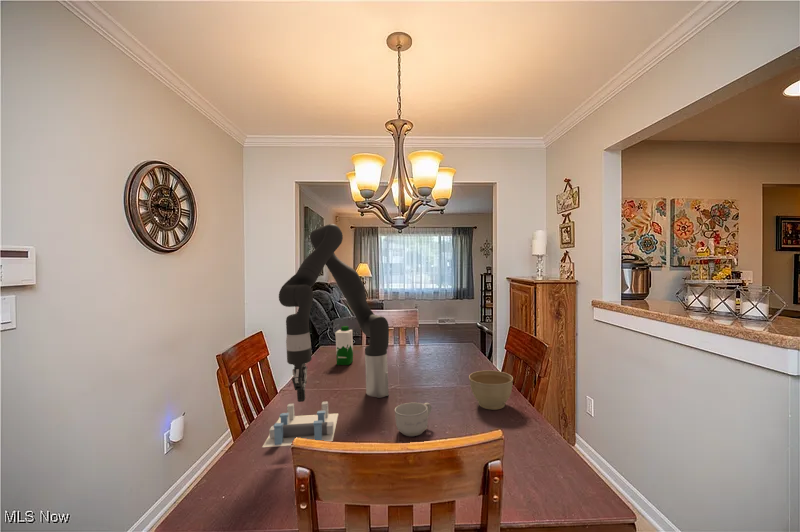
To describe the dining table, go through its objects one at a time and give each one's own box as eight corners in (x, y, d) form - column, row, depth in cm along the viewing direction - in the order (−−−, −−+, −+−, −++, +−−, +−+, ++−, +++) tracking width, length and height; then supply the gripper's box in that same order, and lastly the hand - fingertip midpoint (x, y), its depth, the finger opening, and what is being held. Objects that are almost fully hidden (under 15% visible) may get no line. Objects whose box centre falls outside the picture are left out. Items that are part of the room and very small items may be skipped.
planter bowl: (484, 393, 147) (483, 367, 147) (521, 404, 136) (520, 375, 135) (461, 405, 136) (460, 377, 136) (499, 418, 124) (498, 387, 124)
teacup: (404, 443, 109) (404, 417, 109) (389, 429, 119) (388, 405, 119) (442, 432, 116) (442, 407, 116) (425, 419, 125) (424, 396, 125)
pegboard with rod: (338, 415, 131) (337, 398, 130) (332, 444, 110) (331, 424, 110) (279, 419, 129) (279, 401, 129) (262, 449, 108) (261, 428, 108)
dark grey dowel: (333, 430, 117) (333, 419, 117) (332, 436, 114) (332, 425, 114) (272, 434, 116) (272, 423, 116) (269, 440, 112) (268, 429, 112)
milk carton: (354, 361, 201) (353, 325, 201) (350, 365, 192) (348, 328, 192) (339, 360, 203) (338, 325, 202) (334, 365, 194) (333, 328, 194)
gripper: (307, 351, 108) (310, 408, 108) (313, 341, 121) (316, 392, 121) (281, 353, 107) (284, 410, 107) (291, 342, 120) (293, 393, 121)
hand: (301, 400), depth 114 cm, fingers closed
